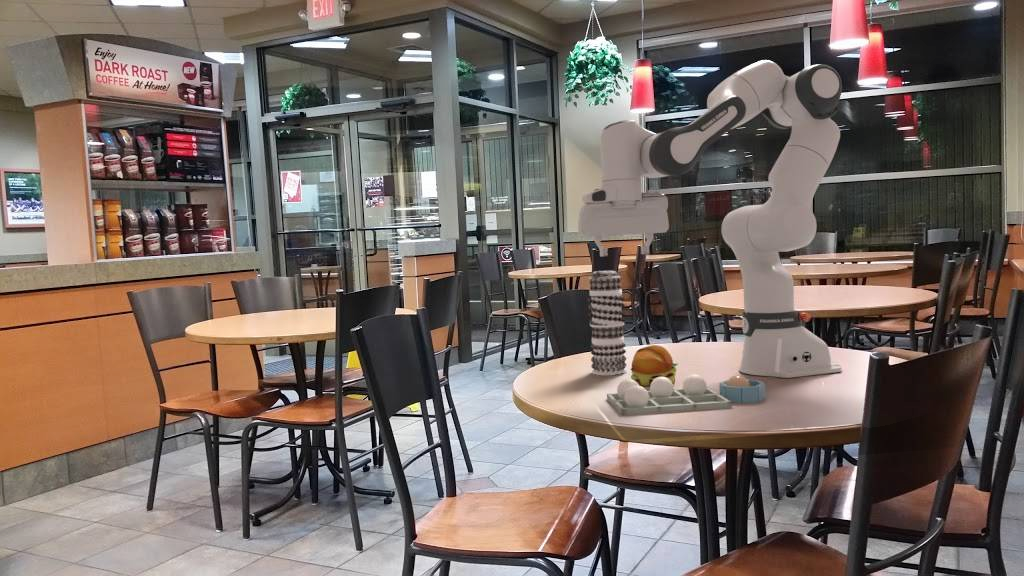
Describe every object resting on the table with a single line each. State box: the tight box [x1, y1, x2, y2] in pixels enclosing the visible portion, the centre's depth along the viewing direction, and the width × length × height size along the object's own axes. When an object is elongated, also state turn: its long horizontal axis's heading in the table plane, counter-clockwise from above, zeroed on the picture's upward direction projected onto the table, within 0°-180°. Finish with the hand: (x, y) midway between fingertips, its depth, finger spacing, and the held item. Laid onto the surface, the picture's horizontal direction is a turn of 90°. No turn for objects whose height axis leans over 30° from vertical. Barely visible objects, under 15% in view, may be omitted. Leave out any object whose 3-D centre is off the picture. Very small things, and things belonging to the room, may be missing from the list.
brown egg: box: [726, 374, 750, 387], centre depth 149 cm, size 5×5×5 cm
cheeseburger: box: [629, 344, 679, 388], centre depth 169 cm, size 10×11×10 cm
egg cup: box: [719, 378, 766, 404], centre depth 150 cm, size 8×8×4 cm
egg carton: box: [606, 373, 733, 416], centre depth 148 cm, size 21×14×5 cm
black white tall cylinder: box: [586, 270, 628, 376], centre depth 187 cm, size 9×9×25 cm
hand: (624, 255), depth 172 cm, fingers open, 8 cm apart
